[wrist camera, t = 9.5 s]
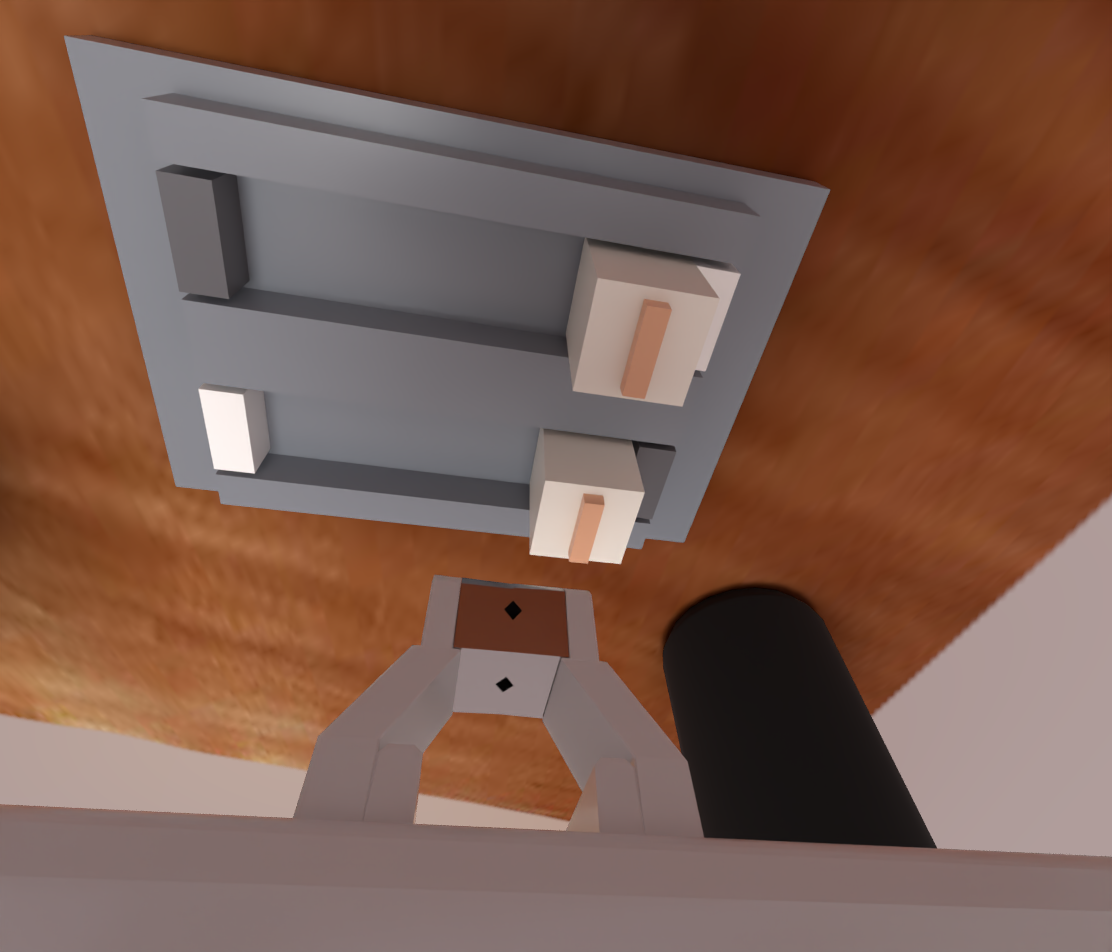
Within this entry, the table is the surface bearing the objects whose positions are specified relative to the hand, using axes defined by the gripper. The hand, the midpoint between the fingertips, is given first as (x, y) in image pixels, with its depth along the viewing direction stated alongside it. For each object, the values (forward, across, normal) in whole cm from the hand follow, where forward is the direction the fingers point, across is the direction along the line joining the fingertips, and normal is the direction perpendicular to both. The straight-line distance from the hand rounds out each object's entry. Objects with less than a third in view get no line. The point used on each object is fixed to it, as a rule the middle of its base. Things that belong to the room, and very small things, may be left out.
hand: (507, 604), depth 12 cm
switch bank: (+17, +2, +3) cm, 18 cm away
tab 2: (+16, -4, +7) cm, 17 cm away
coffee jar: (+18, -18, +21) cm, 33 cm away
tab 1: (+16, -4, -1) cm, 16 cm away
